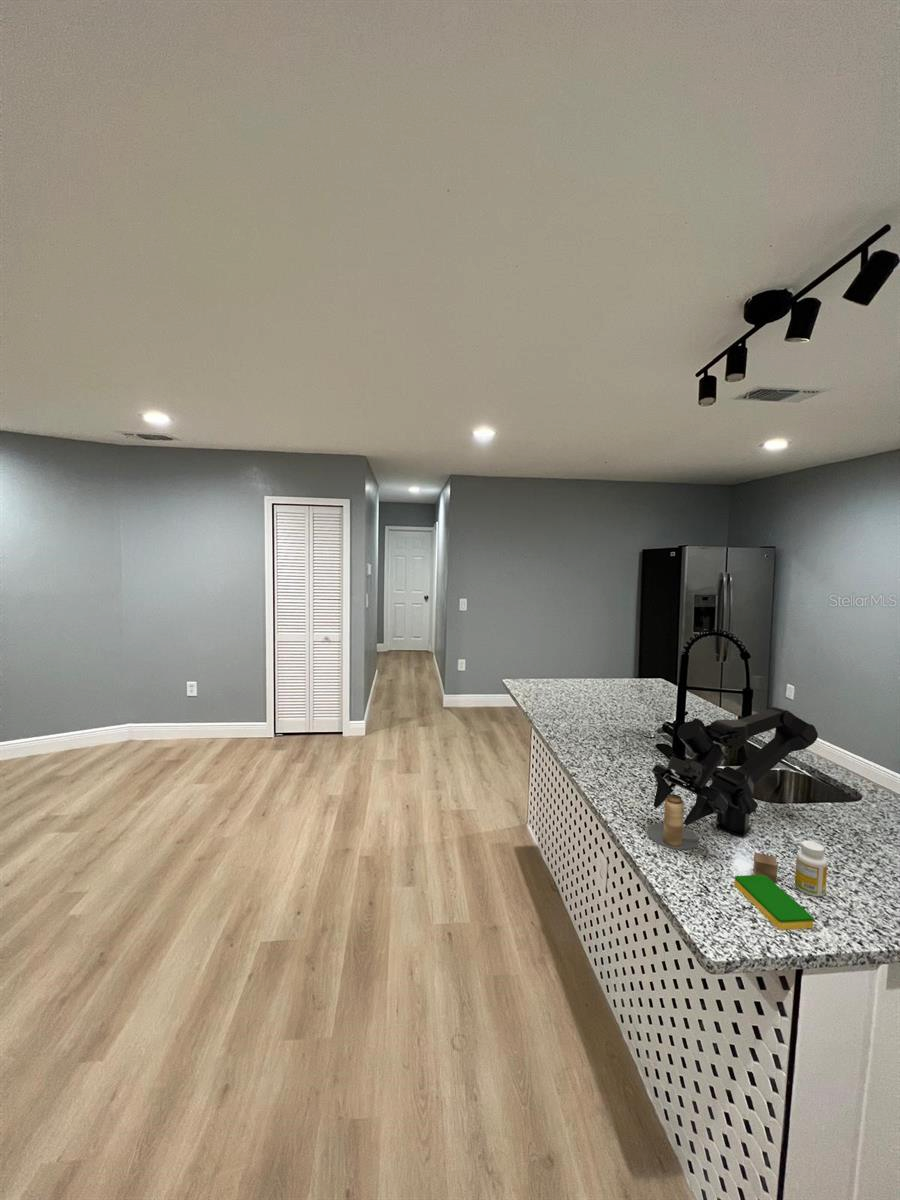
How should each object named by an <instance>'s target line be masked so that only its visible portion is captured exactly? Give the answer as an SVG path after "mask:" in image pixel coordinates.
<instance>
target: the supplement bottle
mask: <svg viewBox="0 0 900 1200" xmlns="http://www.w3.org/2000/svg"><path fill="white" fill-rule="evenodd" d="M800 845H801V846H800V850H798V851H797V852H796V861H795V862H796V863H795V876H794V885H795V887H796V888H797V889H798V890H799V891H800V892H802V893H804V894H806V895H810V896H813V897H822V896H825V895H826V891H827V890H826V888H827V877H828V876H827V875H828V873H827V872H828V859H827V858H826V857H825V847H824V846H823V845H822V844H820V843H819V842H816V841H813V840H802V842H801V844H800Z"/></svg>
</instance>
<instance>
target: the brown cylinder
mask: <svg viewBox="0 0 900 1200" xmlns="http://www.w3.org/2000/svg"><path fill="white" fill-rule="evenodd" d="M684 803H685V802H684V801H683V798H682V796H681V795H678V794H675V793H671V794H669V795H668V796H667V798H665V801H664V815H663V816H664V817H663V823H664V833H663V842H664V843H665V844H667V845H669V846H672V847H680V846H681V845H682V829H683V826H684V824H683V823H684V808H685V806H684Z"/></svg>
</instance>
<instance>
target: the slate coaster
mask: <svg viewBox="0 0 900 1200" xmlns="http://www.w3.org/2000/svg"><path fill="white" fill-rule="evenodd" d="M663 833H664V822H659V823H656V822H655V823H653V824H650V825H649V826H648V827H647V829H646V834H647V836H648V838H649V839H650V840H652V841H653V842H654V843H656V844H657V845H660V846H663V847H664V848H668V849H673V850H678V851H679V850H681V851H686V850H692V849H694V848H696V847H698V845H699V842H700V841H699V837H698V836H697V835H696V834H695V833H694V832H693V831H691V830H690V829H688V828H686V827H683V829H682V845H681V846H680V847H672V846H669V845H667V844H665V843H664V842H663Z"/></svg>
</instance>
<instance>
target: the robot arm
mask: <svg viewBox="0 0 900 1200" xmlns="http://www.w3.org/2000/svg"><path fill="white" fill-rule="evenodd" d="M773 729H774V730H775V732H774V737H773V738H772V739H770V741H768V742H767V743H766V744H764V745H763V747H761V748H760V749H759V750H758V751H757V752H756V753H754V754H753V755H752V756H751V757H749V758H748V759H747V760H746V761H745V762H744V763H743V764H741V765H740V766H739V767H738V768H734V767H731V766H729V765H726V766H725V767H723V769H721V770H720V771H719V772H717V773H715V772H716V770H717V769H718V767H719V766H720V764H721V763H722V761H723V762H726V763H729V762H730V757H729V754H728V750H726V749H723V748H722V747H725V748H727V749H729V750H733V751H735V750H737V749H739V748H740V747H742V746H744V745H746V744H747V743H748V740H749V739H750V738H752V737H755V736H756V735H757V736H758V735H759V734H762V733H765V732H766V733H767V732H768V731H770V730H773ZM676 735H677V736H678V738H679V739H680V740H681V742H682V743H683V744H684V745H685V746H686V747H687V749H688V750H689V751H690V752H692V753H693V756H692V757H691V758H690V757H687V758H685V760H682V759H680V758H677V757H675V756H673V755H671V756H670V758H669V762H668V765H667V767H666V766H665V765H662V764H659V763H658V764H655V765H654V766H653V768H652V769H651V772H652V773H653V777H654V778H655V779H656V792H655V796H654V800H653V804H652V805H653V807H654V808H655V809H658V808H659V807H660V806H661V805H662V804H663V803H665V798H667V796H668V795H669V794H673V792H674V791H675V790H674V789H673V788H675V787H679V788H682V789H683V790H686V791H688V792H690V793H692V794H693V795H696V797H695V803H694V804H693V807H692V808H691V809H690V811H689V812H688V814H687V815H686V817H685V819H684V820H683V823H684V824H683V825H685V826H689V825H691V824H693V823H694V822H697V821H699V820H701V819H702V818H704V817H707V816H710V815H712V814H715V815H716V825H715V827H716V828H717V829H719V830H722V831H725V832H727V833H730V834H733V835H736V836H738V837H745V836H746V835H747V834H748V832H749V831H750V830H751V829H752V828H751V826H750V815H752V814H753V813H755V812H756V811H757V808H758V803H757V801H756V800H755V799H754V798H753V794H754V788H755V785H756V783H757V782H758V781H760V780H761V779H762V778H763V777H764V776H765V775H766V774H768V773H769V772H770V771H771V770H772V769H773V768H774V767H776V766H777V765H778V764H779V763H780V762H781V761H783V760H784V758H786V757H787V756H788V755H789V754H790V753H791V752H792V753H793V752H798V751H802V750H805V749H807V748H809V747H810V746H812V745H813V744H815V742H817V739H818V737H819V736H818V735H819V734H818V731H817V728H816V727H815V725H813V724H812V723H809V722H806V721H805V720H803V719H801V718H799V716H796V715H794V714H793V712H790V710H789V709H788V710H787V709H784V708H780V707H778V706H771V707H769V708H768V709H766V710H763V711H759V712H757V713H754V714H751V715H748V716H745V717H743V718H742V717H741V718H739V719H726V718H725V719H717V720H714V721H712V722H711V723H710V724H707V725H705V723H704V722H703V720H701V719H698V718H696V717H694V718H693V719H692V720H690V721H686V722H684V723H683V724H680V725H679V726H678V728H677V732H676ZM721 746H722V747H721ZM672 770H673V771H674V772H673V771H672ZM674 773H675V774H674ZM714 774H715V776H714ZM709 781H711V787H710V786H708V785H707V784H708V782H709Z"/></svg>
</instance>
